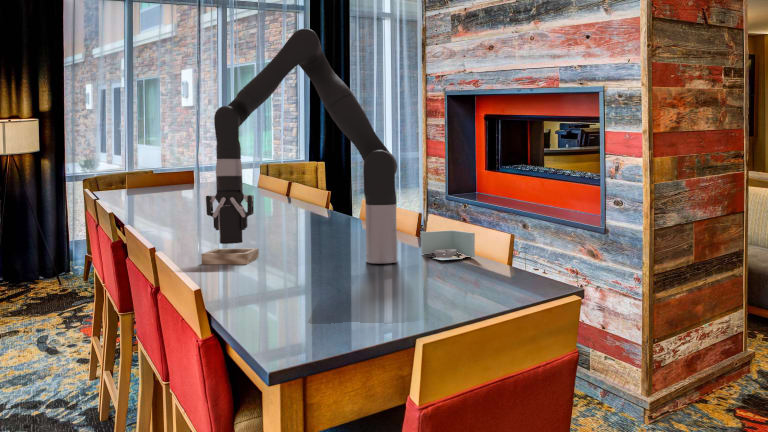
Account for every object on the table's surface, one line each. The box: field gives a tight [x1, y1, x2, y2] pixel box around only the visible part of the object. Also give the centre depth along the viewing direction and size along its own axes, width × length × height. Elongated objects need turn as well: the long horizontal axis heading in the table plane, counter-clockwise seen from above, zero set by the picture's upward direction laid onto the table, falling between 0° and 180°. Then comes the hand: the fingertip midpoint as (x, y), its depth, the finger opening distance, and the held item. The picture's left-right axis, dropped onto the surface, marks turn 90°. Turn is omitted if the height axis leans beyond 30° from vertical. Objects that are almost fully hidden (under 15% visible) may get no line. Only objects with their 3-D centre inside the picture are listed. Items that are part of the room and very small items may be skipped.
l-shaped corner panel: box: [420, 229, 476, 261], centre depth 192 cm, size 12×12×8 cm
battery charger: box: [218, 205, 243, 245], centre depth 184 cm, size 7×4×11 cm, turn 118°
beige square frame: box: [200, 248, 260, 265], centre depth 185 cm, size 13×13×3 cm
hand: (230, 229), depth 185 cm, fingers closed on battery charger, 7 cm apart
